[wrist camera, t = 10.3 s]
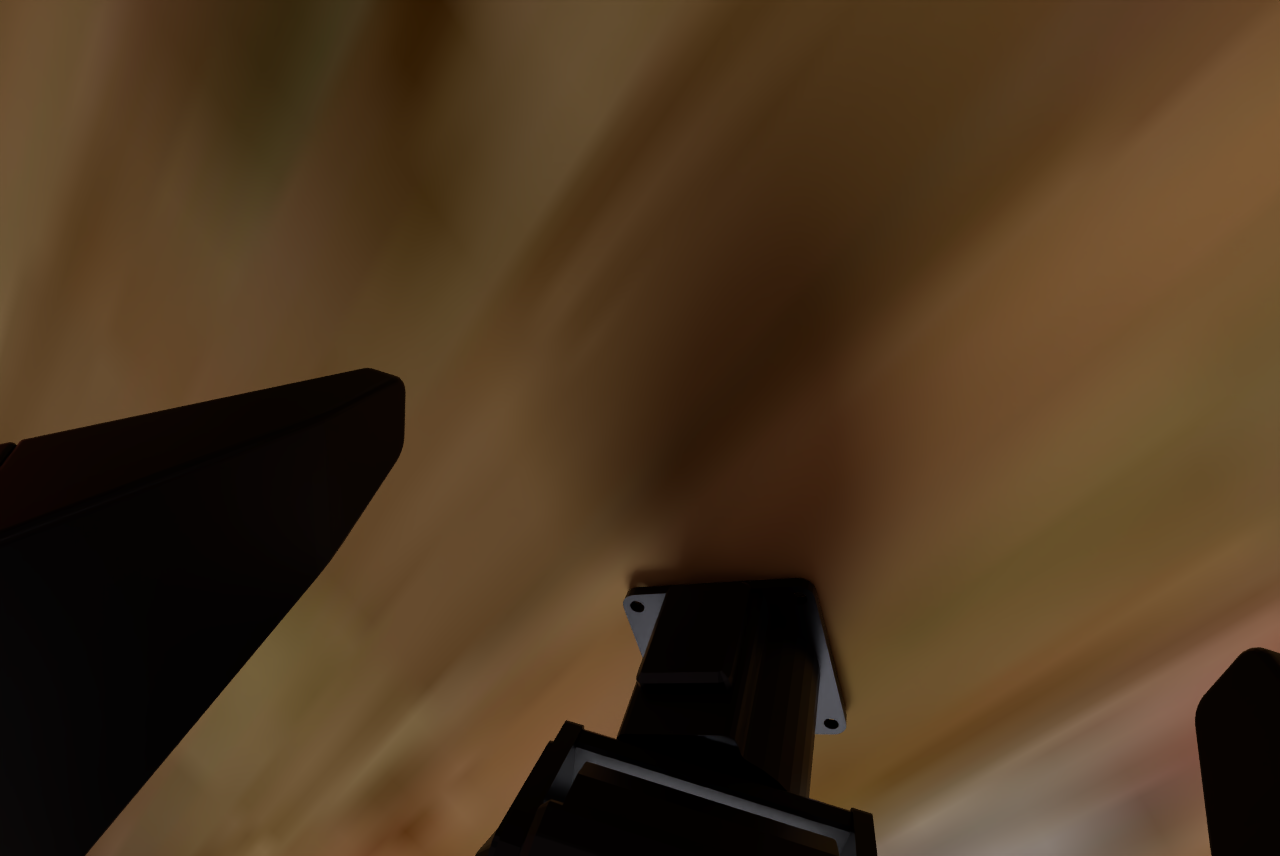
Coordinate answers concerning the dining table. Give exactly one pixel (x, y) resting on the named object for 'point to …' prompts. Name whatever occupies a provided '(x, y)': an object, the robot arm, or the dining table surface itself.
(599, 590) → the dining table surface
